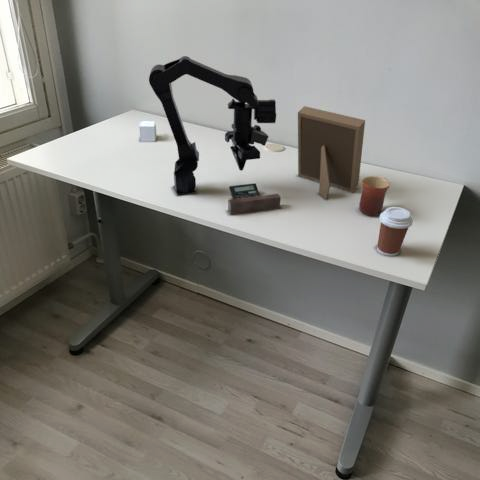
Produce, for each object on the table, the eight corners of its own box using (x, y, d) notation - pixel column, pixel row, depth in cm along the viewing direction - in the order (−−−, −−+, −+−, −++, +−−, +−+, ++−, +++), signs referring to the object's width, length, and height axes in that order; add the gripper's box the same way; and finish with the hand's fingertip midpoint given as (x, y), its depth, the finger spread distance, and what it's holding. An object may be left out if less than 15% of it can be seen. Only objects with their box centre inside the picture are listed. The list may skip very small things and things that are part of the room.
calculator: (240, 209, 159) (240, 201, 157) (229, 193, 167) (229, 185, 165) (266, 206, 161) (267, 197, 159) (255, 190, 169) (255, 182, 167)
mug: (375, 221, 155) (382, 190, 149) (351, 212, 159) (356, 182, 153) (392, 208, 163) (399, 178, 156) (368, 199, 167) (374, 170, 160)
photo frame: (303, 172, 182) (312, 102, 166) (357, 188, 173) (372, 115, 157) (283, 186, 173) (290, 113, 157) (339, 203, 164) (353, 128, 148)
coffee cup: (405, 260, 138) (416, 222, 131) (372, 256, 140) (381, 218, 132) (402, 243, 145) (413, 206, 138) (371, 239, 146) (380, 203, 139)
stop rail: (230, 214, 156) (230, 203, 153) (228, 211, 157) (228, 199, 155) (279, 208, 160) (280, 196, 157) (277, 204, 162) (278, 193, 159)
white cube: (156, 136, 206) (155, 121, 202) (155, 141, 202) (154, 126, 198) (142, 135, 206) (140, 121, 202) (140, 141, 201) (139, 126, 197)
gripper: (277, 130, 150) (273, 178, 160) (256, 111, 163) (254, 157, 173) (242, 133, 147) (241, 182, 157) (224, 114, 160) (224, 160, 170)
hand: (241, 170), depth 164 cm, fingers closed
